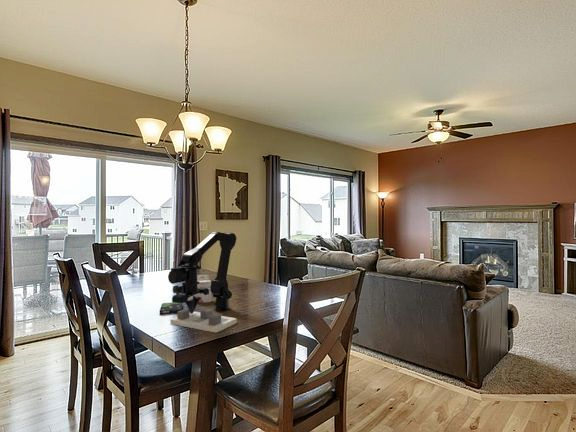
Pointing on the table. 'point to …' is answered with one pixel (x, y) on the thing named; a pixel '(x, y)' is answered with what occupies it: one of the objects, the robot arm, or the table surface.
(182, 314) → the tab
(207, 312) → the tab middle
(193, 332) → the table surface
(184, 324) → the switch panel
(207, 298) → the ink cartridge box
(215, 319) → the tab
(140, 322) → the table surface
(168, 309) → the disk drive
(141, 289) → the table surface
